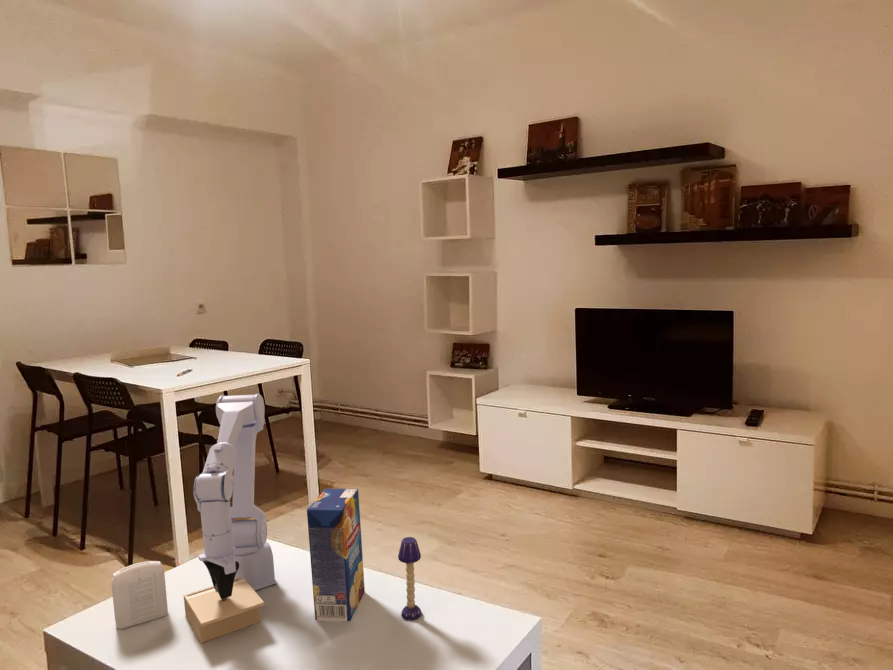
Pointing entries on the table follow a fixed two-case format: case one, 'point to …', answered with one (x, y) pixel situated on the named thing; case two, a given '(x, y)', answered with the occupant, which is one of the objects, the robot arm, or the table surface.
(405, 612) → the toy lamp
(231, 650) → the table surface
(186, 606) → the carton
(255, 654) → the table surface
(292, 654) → the table surface
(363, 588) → the juice carton
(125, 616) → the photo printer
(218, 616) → the lid
